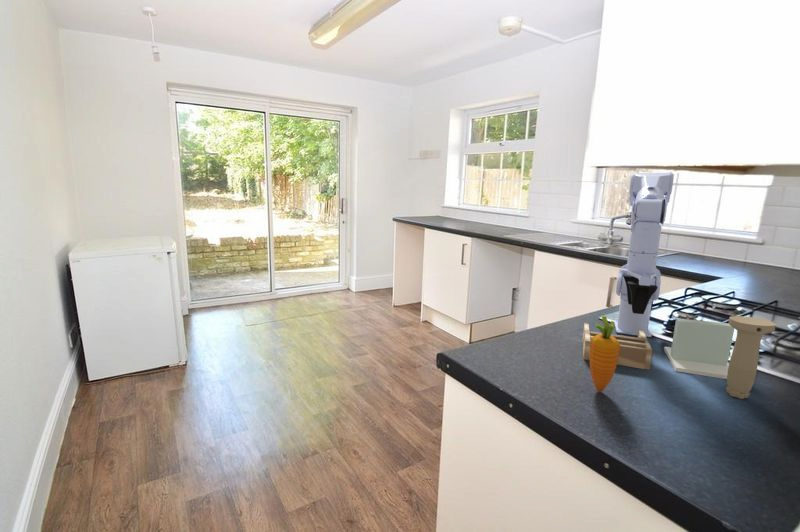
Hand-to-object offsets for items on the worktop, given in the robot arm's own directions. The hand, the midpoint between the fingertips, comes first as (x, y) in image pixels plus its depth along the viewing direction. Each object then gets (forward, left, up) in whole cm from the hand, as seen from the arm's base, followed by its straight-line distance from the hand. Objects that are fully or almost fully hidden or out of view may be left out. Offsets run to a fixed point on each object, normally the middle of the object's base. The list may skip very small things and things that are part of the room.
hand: (635, 308), depth 93 cm
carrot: (+24, -8, -11) cm, 28 cm away
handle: (+15, +16, -11) cm, 25 cm away
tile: (+2, +13, -10) cm, 17 cm away
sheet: (+2, +13, -10) cm, 16 cm away
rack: (+3, -4, -10) cm, 12 cm away
